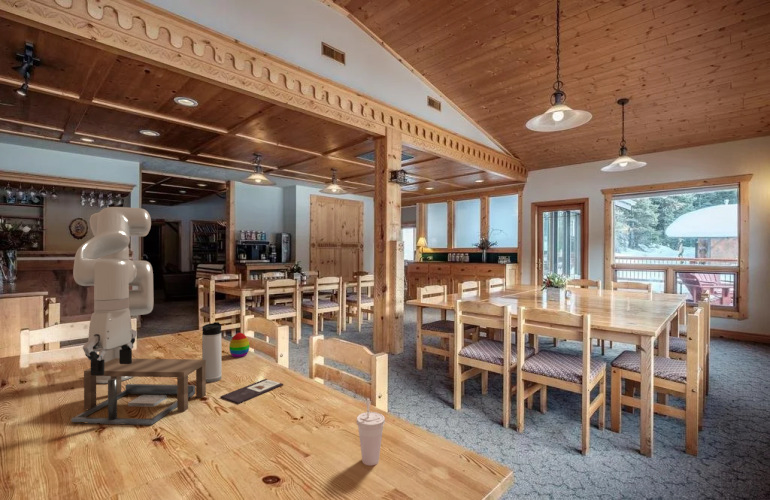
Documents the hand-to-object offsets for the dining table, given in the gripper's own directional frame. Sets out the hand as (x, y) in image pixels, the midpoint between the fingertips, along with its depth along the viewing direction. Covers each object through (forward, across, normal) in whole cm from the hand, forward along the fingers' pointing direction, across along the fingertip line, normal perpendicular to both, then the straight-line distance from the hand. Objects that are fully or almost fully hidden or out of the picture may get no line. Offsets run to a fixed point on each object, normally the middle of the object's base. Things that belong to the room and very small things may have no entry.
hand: (112, 369), depth 100 cm
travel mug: (+15, -35, +10) cm, 39 cm away
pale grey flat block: (+15, -15, 0) cm, 21 cm away
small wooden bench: (+15, -15, 0) cm, 21 cm away
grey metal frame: (+15, -10, -1) cm, 18 cm away
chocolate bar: (+16, -25, +28) cm, 41 cm away
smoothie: (+16, +13, +70) cm, 74 cm away
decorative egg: (+14, -64, +7) cm, 65 cm away
